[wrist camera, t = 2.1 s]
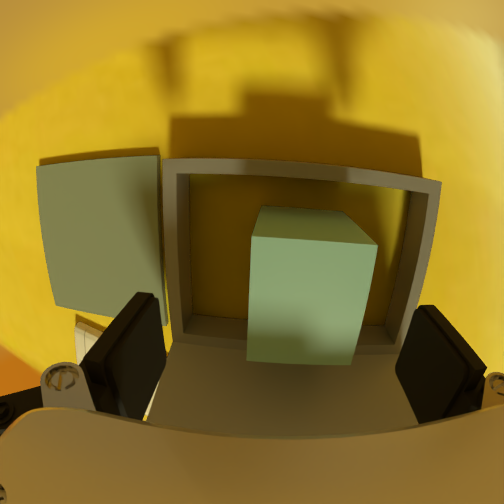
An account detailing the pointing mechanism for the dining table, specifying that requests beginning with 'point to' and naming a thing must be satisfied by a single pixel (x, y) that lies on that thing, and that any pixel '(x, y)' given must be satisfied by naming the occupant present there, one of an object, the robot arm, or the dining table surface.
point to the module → (307, 286)
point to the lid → (277, 394)
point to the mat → (102, 232)
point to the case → (179, 169)
